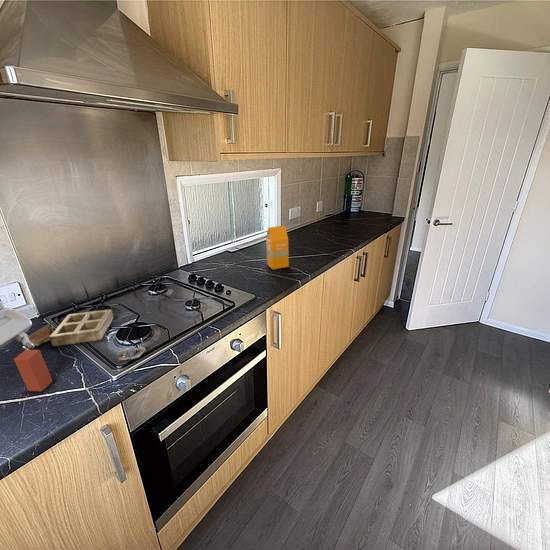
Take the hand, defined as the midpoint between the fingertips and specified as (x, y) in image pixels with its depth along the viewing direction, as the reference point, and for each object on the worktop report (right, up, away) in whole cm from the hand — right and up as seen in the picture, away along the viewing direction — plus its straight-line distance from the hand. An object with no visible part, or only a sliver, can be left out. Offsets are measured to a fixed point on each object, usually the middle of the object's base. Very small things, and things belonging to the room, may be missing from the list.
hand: (15, 360), depth 71 cm
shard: (-13, 0, +24) cm, 27 cm away
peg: (+3, -8, +4) cm, 9 cm away
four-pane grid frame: (0, +2, +27) cm, 27 cm away
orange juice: (+65, +25, +76) cm, 103 cm away
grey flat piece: (+21, -3, +15) cm, 26 cm away
